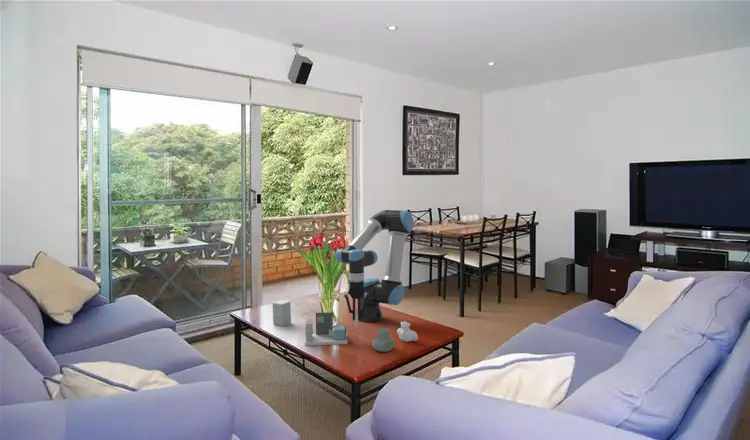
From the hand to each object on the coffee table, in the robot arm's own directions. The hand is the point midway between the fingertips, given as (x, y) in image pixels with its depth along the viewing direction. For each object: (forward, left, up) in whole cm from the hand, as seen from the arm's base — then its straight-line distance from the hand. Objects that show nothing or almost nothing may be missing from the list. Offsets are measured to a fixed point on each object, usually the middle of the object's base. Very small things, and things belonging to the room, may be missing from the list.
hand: (356, 326), depth 232 cm
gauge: (+9, -1, -6) cm, 11 cm away
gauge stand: (+15, -1, -7) cm, 17 cm away
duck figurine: (-25, +3, -8) cm, 26 cm away
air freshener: (-12, +14, -8) cm, 20 cm away
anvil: (+24, 0, -6) cm, 24 cm away
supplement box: (+41, -30, -8) cm, 51 cm away
